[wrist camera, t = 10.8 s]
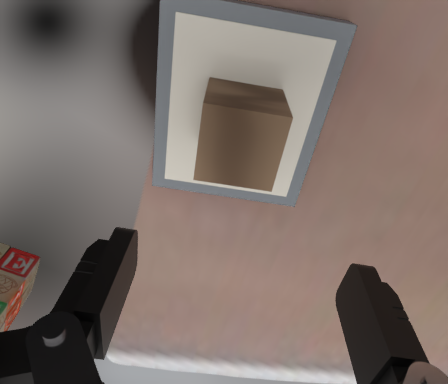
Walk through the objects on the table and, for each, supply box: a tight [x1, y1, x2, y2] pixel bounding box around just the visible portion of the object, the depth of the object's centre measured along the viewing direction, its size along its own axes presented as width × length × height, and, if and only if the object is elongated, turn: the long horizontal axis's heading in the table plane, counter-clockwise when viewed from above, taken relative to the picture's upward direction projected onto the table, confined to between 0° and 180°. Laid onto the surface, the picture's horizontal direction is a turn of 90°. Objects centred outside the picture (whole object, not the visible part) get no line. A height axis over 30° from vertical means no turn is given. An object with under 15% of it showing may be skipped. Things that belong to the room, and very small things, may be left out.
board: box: [152, 0, 357, 207], centre depth 25 cm, size 12×14×2 cm
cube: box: [193, 77, 293, 192], centre depth 22 cm, size 5×5×5 cm
